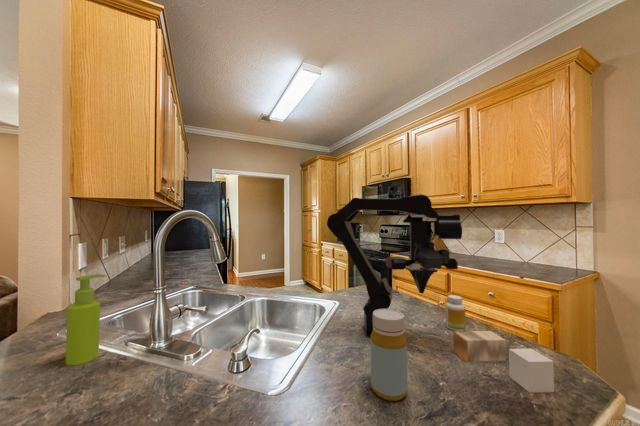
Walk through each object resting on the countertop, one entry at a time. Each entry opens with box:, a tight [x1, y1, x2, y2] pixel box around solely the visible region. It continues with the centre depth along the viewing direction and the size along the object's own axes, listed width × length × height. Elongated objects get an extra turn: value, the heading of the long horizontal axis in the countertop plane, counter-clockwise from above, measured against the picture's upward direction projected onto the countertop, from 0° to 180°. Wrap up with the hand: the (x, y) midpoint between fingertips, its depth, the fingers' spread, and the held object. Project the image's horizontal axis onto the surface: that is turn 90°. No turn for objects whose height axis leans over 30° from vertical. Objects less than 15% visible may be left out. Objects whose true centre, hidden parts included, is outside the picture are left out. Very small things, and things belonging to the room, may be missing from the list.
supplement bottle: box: [445, 294, 466, 331], centre depth 79 cm, size 5×5×10 cm
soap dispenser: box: [64, 273, 107, 367], centre depth 62 cm, size 6×7×20 cm
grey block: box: [508, 348, 555, 393], centre depth 52 cm, size 5×5×6 cm
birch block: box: [452, 330, 507, 363], centre depth 63 cm, size 5×5×10 cm
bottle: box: [370, 308, 408, 402], centre depth 50 cm, size 7×7×15 cm
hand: (421, 293), depth 72 cm, fingers closed
